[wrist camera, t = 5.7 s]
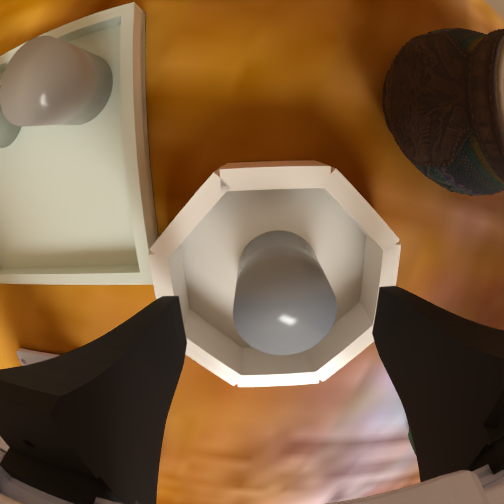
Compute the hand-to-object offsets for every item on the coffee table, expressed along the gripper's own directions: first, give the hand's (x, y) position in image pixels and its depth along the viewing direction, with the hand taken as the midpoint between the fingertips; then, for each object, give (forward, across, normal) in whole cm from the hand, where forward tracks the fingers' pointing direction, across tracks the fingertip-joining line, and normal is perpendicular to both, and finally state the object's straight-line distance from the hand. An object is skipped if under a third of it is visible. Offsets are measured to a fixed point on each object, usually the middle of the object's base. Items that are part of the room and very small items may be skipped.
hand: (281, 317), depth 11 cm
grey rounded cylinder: (+4, 0, 0) cm, 4 cm away
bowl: (+5, 0, 0) cm, 5 cm away
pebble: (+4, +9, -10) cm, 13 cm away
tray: (+5, +12, -6) cm, 14 cm away
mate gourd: (+5, -8, -8) cm, 12 cm away
